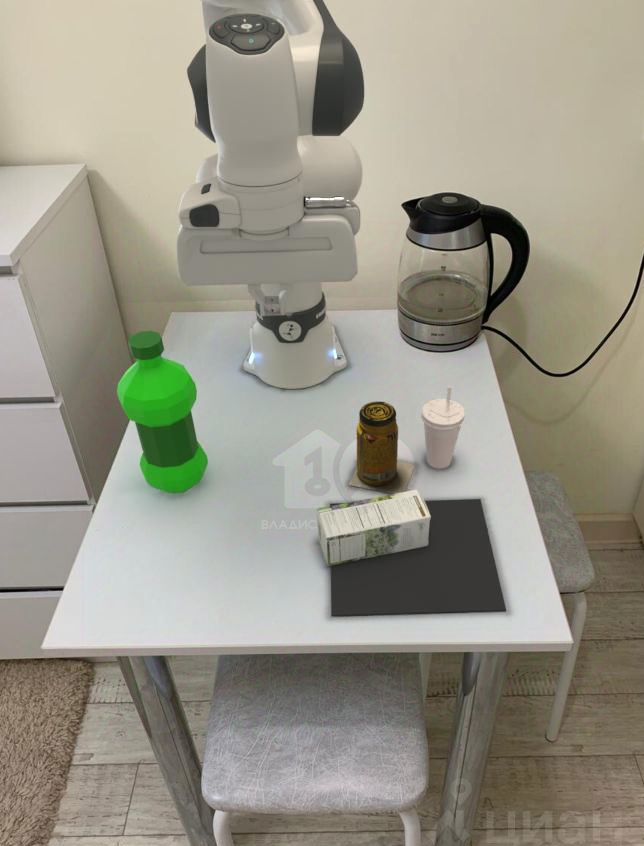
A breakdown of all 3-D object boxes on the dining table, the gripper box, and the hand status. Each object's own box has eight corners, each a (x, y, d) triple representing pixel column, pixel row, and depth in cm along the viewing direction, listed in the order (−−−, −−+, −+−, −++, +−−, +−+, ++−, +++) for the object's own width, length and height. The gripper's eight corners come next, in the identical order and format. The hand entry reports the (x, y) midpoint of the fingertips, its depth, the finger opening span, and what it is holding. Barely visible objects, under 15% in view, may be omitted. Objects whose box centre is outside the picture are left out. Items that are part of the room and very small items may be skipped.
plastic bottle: (187, 513, 105) (153, 369, 88) (130, 491, 109) (86, 349, 92) (225, 471, 112) (201, 329, 95) (170, 452, 115) (136, 312, 98)
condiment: (362, 455, 114) (362, 393, 106) (414, 465, 112) (418, 402, 104) (348, 485, 109) (346, 423, 101) (403, 497, 107) (406, 433, 98)
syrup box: (317, 537, 101) (416, 516, 103) (328, 568, 96) (430, 545, 99) (315, 508, 97) (418, 487, 99) (326, 539, 93) (433, 516, 95)
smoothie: (457, 476, 110) (466, 402, 100) (415, 471, 111) (420, 397, 101) (461, 449, 114) (470, 376, 105) (420, 445, 115) (425, 371, 106)
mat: (329, 504, 106) (329, 503, 106) (480, 500, 106) (480, 498, 106) (331, 616, 91) (331, 615, 91) (505, 611, 91) (506, 609, 91)
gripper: (359, 184, 79) (359, 297, 89) (171, 188, 79) (192, 302, 89) (361, 208, 75) (361, 324, 84) (163, 213, 74) (185, 329, 84)
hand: (273, 313), depth 86 cm, fingers closed
